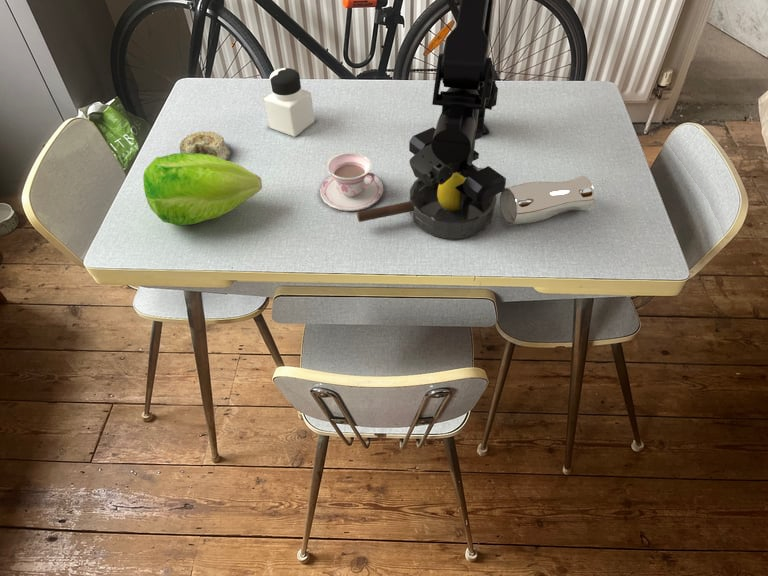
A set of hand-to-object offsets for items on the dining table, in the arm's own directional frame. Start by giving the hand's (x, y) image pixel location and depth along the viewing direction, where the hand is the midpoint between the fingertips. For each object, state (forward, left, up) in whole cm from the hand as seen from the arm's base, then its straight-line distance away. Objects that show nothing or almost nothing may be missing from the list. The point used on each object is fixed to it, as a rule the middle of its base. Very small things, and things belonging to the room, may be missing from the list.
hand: (452, 201), depth 103 cm
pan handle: (0, -12, 0) cm, 12 cm away
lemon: (0, 0, -2) cm, 2 cm away
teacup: (-11, -16, -2) cm, 20 cm away
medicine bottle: (-37, -23, -2) cm, 44 cm away
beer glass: (+6, +23, +1) cm, 24 cm away
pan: (0, 0, -2) cm, 2 cm away
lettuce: (-12, -42, -2) cm, 44 cm away
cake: (-31, -42, -2) cm, 52 cm away
